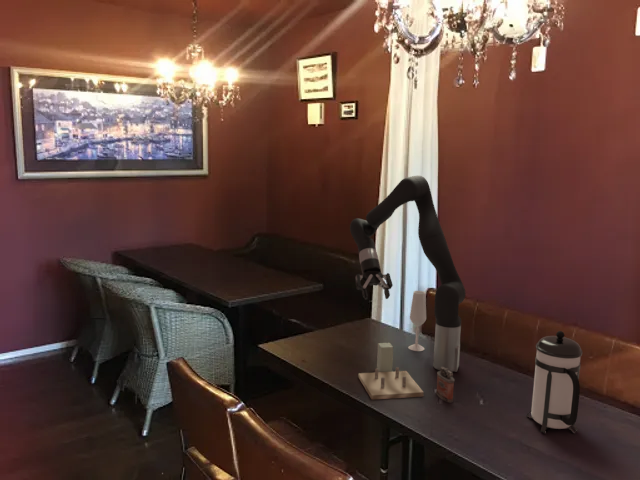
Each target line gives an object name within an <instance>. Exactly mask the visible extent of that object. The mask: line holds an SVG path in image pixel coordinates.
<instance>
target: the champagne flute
mask: <svg viewBox="0 0 640 480" xmlns="http://www.w3.org/2000/svg"><path fill="white" fill-rule="evenodd" d="M426 305H427V302H426V291H423V290H414V291H413V294H412V300H411V306H410V313H409V314H410V315H409V319H410V321H411V323H412V324H413V325H414V326H415V338H414V339H415V342H414V343H413V344H411V345H409V346H408V347H407V348H408V349H409V350H410V351H414V352H422V351H424V350H425V347H424V346H423V345H421V344H419V334H420V326H423V324H424V323H425V322H426V320H427V306H426Z"/></svg>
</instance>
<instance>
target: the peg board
mask: <svg viewBox="0 0 640 480" xmlns="http://www.w3.org/2000/svg"><path fill="white" fill-rule="evenodd" d="M378 370H379V369H377V368H375V369H374V372H361V373H360V372H359V373H358V376H357V378H358V379H359V381H360V382H361V384H362V385H363V388H364V389H365V391H366V393H367V394H368V396H369V397H370V399H371V400H388V399H401V398H417V397H424V391H423V389H422V388H421V387H420V386H419V385H418V383H417V382H416V381H415V380H414V378H413V377H412V376H411V375H410V373H409V372H408V371H407V370H400V367H397V366H396V367H395V371H392V372H379V371H378Z"/></svg>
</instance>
